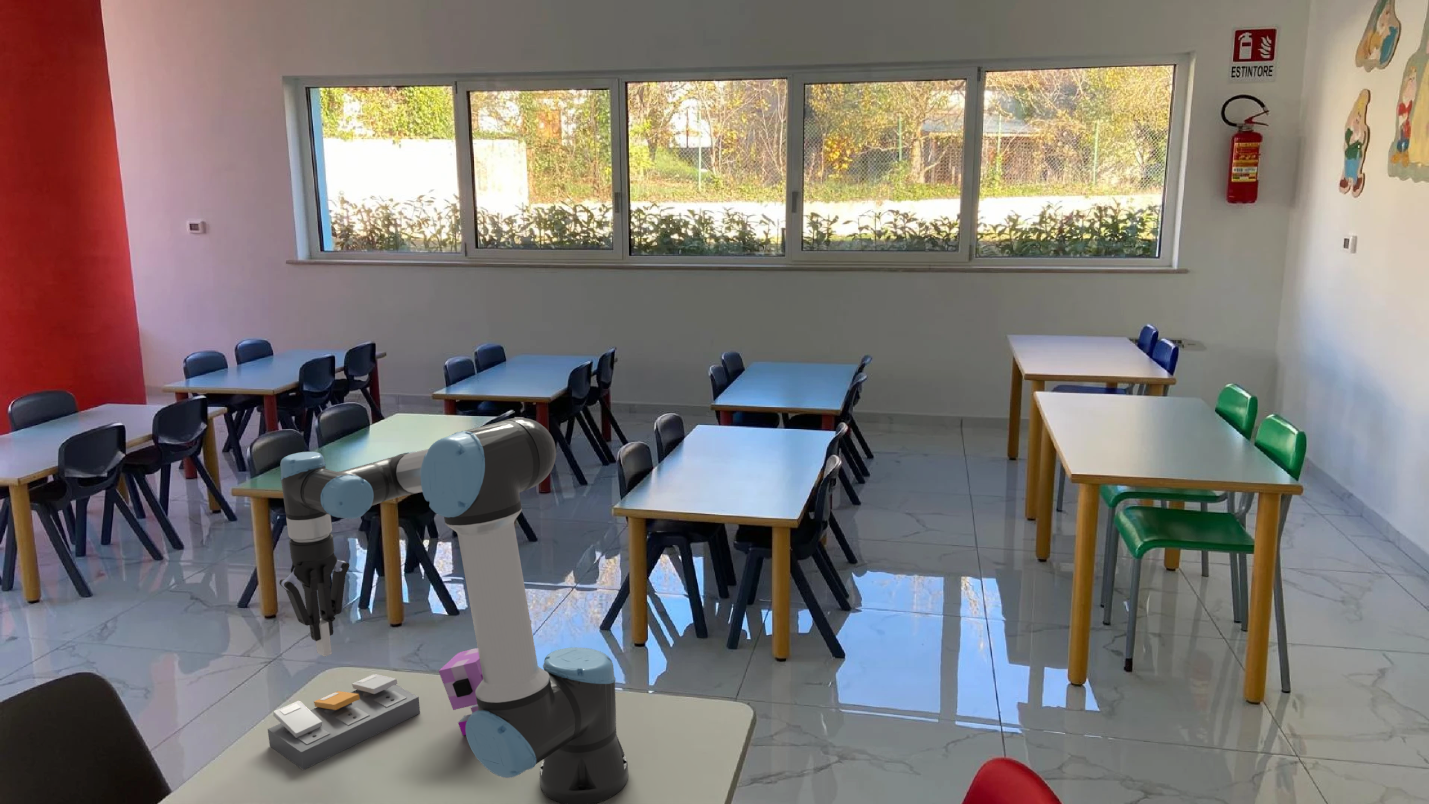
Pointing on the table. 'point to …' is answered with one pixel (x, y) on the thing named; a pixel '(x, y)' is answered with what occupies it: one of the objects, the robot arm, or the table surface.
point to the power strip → (345, 725)
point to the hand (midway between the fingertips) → (324, 653)
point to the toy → (462, 682)
